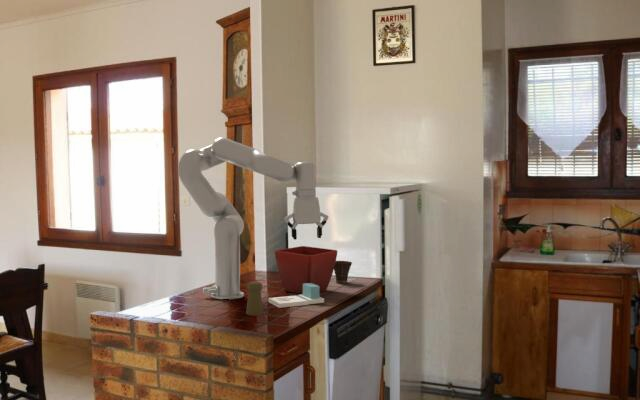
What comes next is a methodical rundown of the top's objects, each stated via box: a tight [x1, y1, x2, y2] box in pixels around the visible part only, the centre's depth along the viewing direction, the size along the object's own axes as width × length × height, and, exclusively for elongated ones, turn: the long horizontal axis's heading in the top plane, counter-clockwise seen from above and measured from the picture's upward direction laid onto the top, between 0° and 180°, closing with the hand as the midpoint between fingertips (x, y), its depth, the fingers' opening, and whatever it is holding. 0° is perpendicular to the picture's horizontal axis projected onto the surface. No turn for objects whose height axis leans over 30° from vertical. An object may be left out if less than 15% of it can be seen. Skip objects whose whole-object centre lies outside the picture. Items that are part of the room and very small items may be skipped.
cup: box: [333, 260, 353, 285], centre depth 260 cm, size 9×9×10 cm
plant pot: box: [274, 245, 338, 295], centre depth 242 cm, size 19×19×17 cm
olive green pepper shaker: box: [245, 280, 264, 316], centre depth 203 cm, size 6×6×11 cm
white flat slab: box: [268, 294, 310, 309], centre depth 219 cm, size 12×10×2 cm
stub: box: [297, 283, 325, 305], centre depth 223 cm, size 6×10×6 cm, turn 27°
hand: (307, 238), depth 226 cm, fingers open, 9 cm apart
